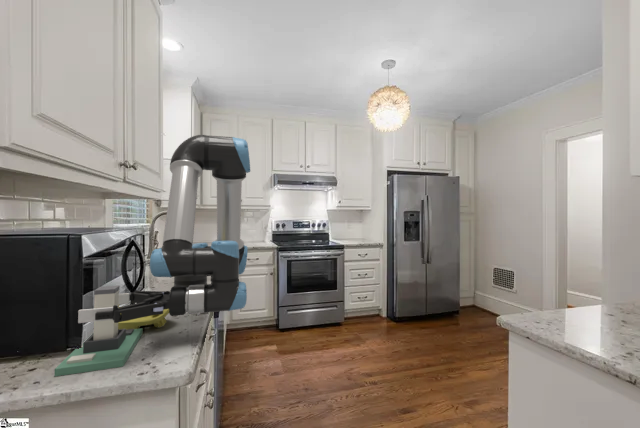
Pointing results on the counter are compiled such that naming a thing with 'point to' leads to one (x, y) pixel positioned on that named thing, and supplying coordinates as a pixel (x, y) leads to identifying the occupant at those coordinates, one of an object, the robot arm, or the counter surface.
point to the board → (100, 353)
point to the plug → (103, 300)
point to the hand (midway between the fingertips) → (90, 307)
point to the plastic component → (144, 321)
